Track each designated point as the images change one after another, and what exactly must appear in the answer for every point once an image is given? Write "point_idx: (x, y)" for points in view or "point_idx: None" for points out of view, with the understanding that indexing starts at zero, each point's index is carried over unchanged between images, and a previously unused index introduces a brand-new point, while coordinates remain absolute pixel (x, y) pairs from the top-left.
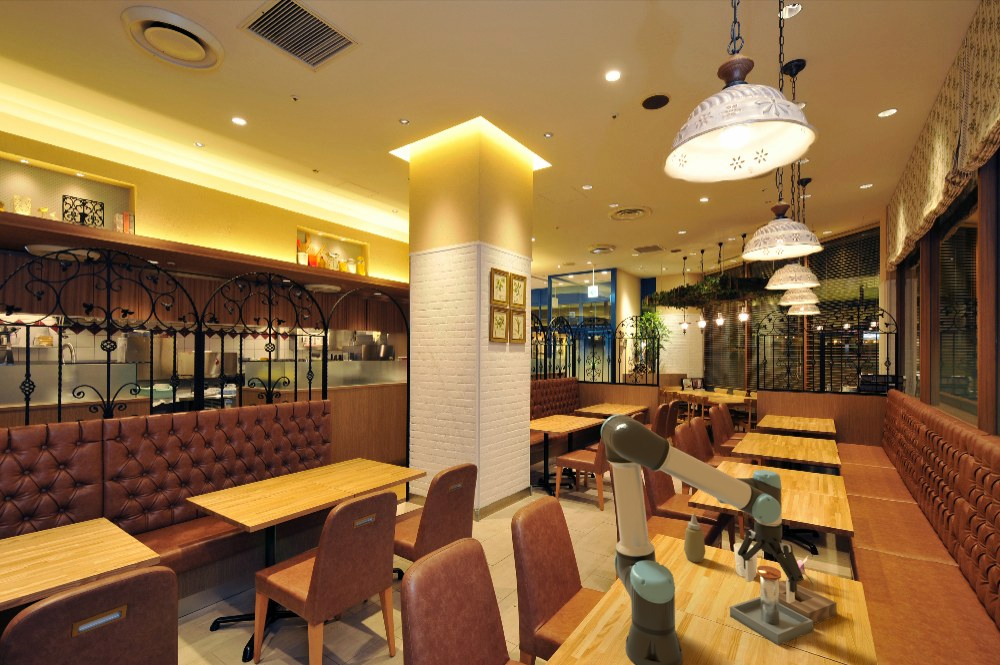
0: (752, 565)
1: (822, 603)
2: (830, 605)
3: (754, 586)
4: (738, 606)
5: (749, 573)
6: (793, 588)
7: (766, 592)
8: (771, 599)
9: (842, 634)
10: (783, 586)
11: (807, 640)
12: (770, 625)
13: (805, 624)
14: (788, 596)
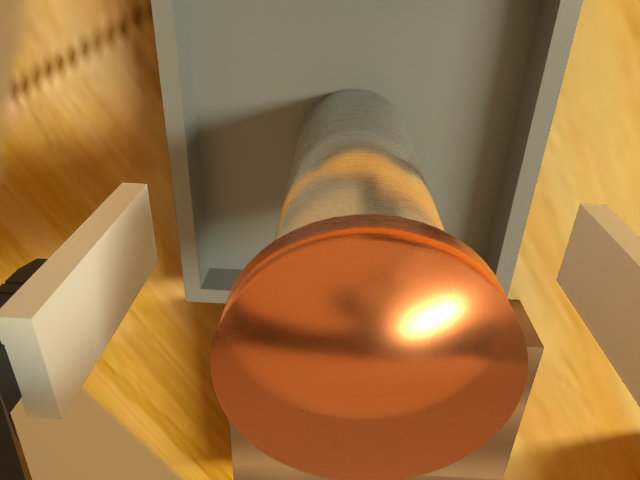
0: (637, 381)
1: (258, 458)
2: (234, 470)
3: (615, 391)
4: (549, 37)
5: (612, 276)
6: (3, 287)
7: (337, 164)
8: (304, 165)
9: (132, 349)
10: (467, 457)
11: (148, 165)
12: (313, 84)
13: (180, 238)
14: (98, 211)
